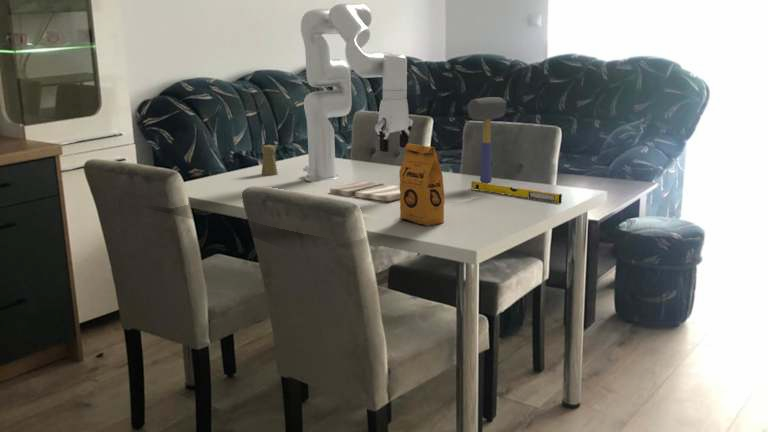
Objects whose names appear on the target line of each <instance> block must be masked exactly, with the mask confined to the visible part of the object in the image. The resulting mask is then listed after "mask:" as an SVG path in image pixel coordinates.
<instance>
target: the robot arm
mask: <svg viewBox="0 0 768 432" xmlns="http://www.w3.org/2000/svg"><path fill="white" fill-rule="evenodd" d="M372 18H373V17H372V14H371V10H370V8H368V7H367V5H366V4H362V3H338V4H335V5H334V6H333V7H331V8H315V9H311V10H308V11H306V12H305V13H304V14H303V16H302V18H301V21H300V34H301V38H302V40H303V45H304V51H305V55H304V56H305V72H306V80H307V83H308V84H309V86H310V87H313V88H329V87H330V88H331V87H332V90H319V91H313V92H310V93H308V94H306V96H305V97H304V100H303V107H304V113H305V118H306V126H307V127H306V128H307V145H308V146H307V147H308V150H307V151H308V154H307V155H308V165H305V167H303V168H302V171H303V172H304V173H305V172H306V173H307V174H306V175H305V176H304V180H305V181H307V182H318V181H327V180H336V179H338V178H340V174H338V173H336V152H335V151H336V150H335V149H336V148H335V147H336V146H335V142H336V141H335V129H334V127H333V125H332V123H331V121H330V120H329V119H330V118H339V117H344V116H347V115H349V114H350V112H351V111H352V105H353V104H352V100H353V99H352V79H351V77H352V76H351V70H350V68H351V69H352V71H353V72H354V73H355V74H356V75H357V76H358V77H361V78H365V79H368V78H382V99H381V100H380V104H379V108H378V109H379V111H378V120H377V121H378V122H377V123H376V124H375V125H374V130H375V134H376V135H377V138H378V139H379V152H384V153H388V152H389V150H390V149H389V147H390V146H389V143H390V141H389V138H388V137H389V135H390V134H391V133H398V132H400V134H399V147H400V148H403V149H405V147H406V145H407V144H408V143H409V136H410V135H411V131H412V126H413V124H414V120H413V119H411V118H410V117H409V104H408V99H407V95H408V94H407V93H408V90H407V89H408V86H407V85H408V83H407V81H408V79H407V78H408V73H407V71H408V58H407V57H406V56H405V55H403V54H394V53H391V52H370V53H369V52H367V53H365V52H363V51H362V50H361V49H362V48H363V47H364V46H366V45H367V43H368V42H369V41H370V37H371V31H370V29H369V27H370V25H371V23H372ZM323 35H340V37H341V38H342V40H343V41H344V42H345V43H346V45H345V51H344V52H345V53H344V54H345V58H346V61H344V60H343V59H340V58H338V59H337V58H336V59H335V58H334V59H331V57H330V56H331V55H330V46H329V43H328V41H327V40H326V39H325V37H324V36H323ZM348 65H349V66H348Z"/></svg>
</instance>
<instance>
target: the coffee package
mask: <svg viewBox="0 0 768 432" xmlns="http://www.w3.org/2000/svg"><path fill="white" fill-rule="evenodd" d="M404 149H405V150H406V152H405V155H404V157H403V160H402V162H401V163H402V164H401V165H400V168H399V186H400V201H399V203H400V204H399V206H400V207H399V209H400V211H399V214H400V216H399V217H400V219H403V220H406V221H411V222H414V223H415V224H419V225H423V226H427V227H431V226H435V225H440V224H443V223H444V222H445V217H444V216H445V190H444V178H443V177H444V176H443V172H442V168H441V164H440V161H439V157H438V154H437V151H436V149H435V147H434V146H428V145H427V146H426V145H421V144H413V143H409V142H408V144H407V145H406V147H405V148H404Z"/></svg>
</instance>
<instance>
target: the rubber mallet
mask: <svg viewBox="0 0 768 432" xmlns="http://www.w3.org/2000/svg"><path fill="white" fill-rule="evenodd" d="M506 112H507V103H506V101H505V99H503V97H498V96H497V97H493V96H491V97H490V96H488V97H487V96H486V97H481V98H474V99H471V100H470V101H469V102H468V104H467V113H468V116H469V118H470V119H472V120H474V121H475V120H477V121H478V120H480V121H481V120H483V123H482V124H483V125H482V128H483V129H482V142H481V147H480V161H481V166H480V167H481V168H480V170H481V172H480V177H479V182H480V183H487V184H488V183H490V184H491V182H492V179H493V178H492V173H491V172H492V165H491V164H492V156H493V153H492V142H491V120H493V119H499V118H502V117H504V116H505V115H506Z"/></svg>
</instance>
